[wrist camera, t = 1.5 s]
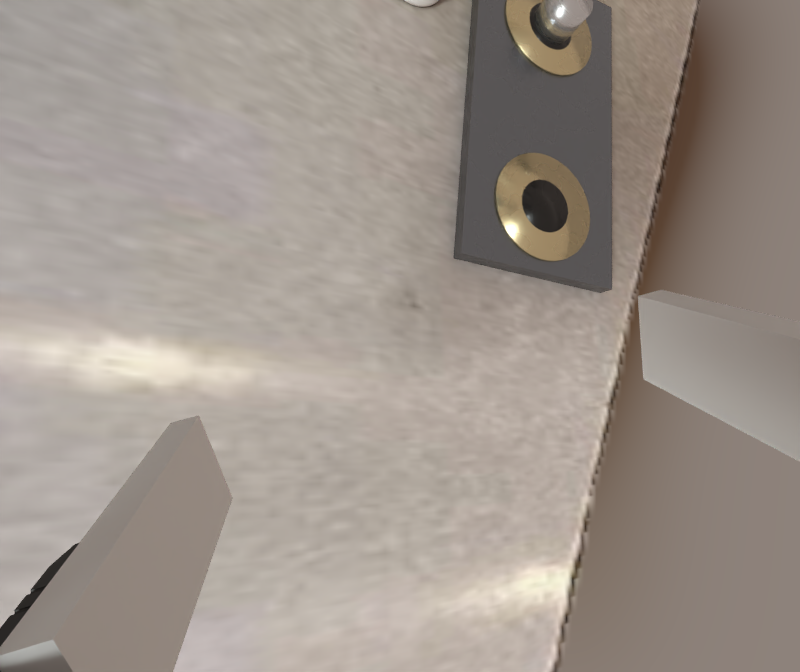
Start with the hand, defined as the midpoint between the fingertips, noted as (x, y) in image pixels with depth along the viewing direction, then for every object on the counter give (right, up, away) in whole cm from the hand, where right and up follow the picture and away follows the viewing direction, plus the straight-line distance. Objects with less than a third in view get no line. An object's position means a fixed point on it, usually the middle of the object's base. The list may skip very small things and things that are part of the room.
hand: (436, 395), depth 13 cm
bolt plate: (+11, +20, +25) cm, 34 cm away
